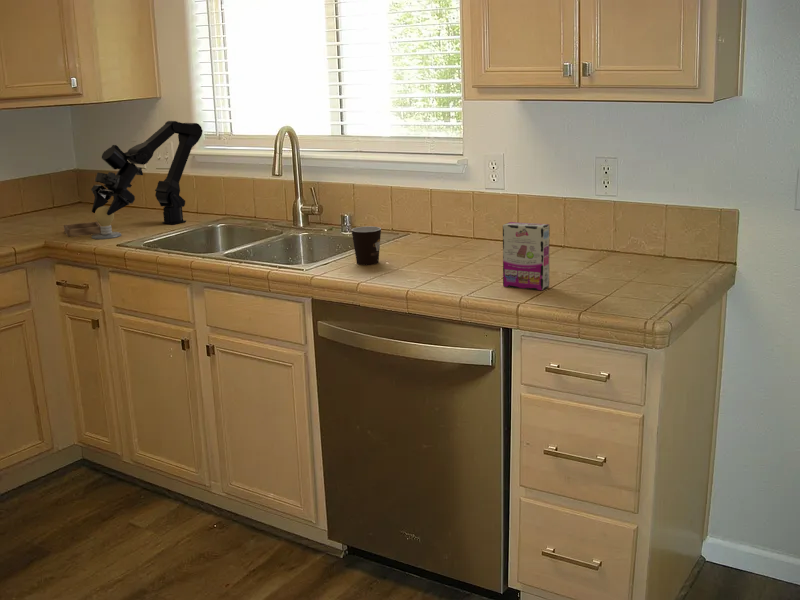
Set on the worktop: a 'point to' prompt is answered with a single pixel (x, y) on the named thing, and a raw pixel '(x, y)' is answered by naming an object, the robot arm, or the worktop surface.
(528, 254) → the candy bar box
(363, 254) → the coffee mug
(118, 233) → the slate coaster
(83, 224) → the walnut crate
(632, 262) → the worktop surface
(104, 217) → the light bulb
